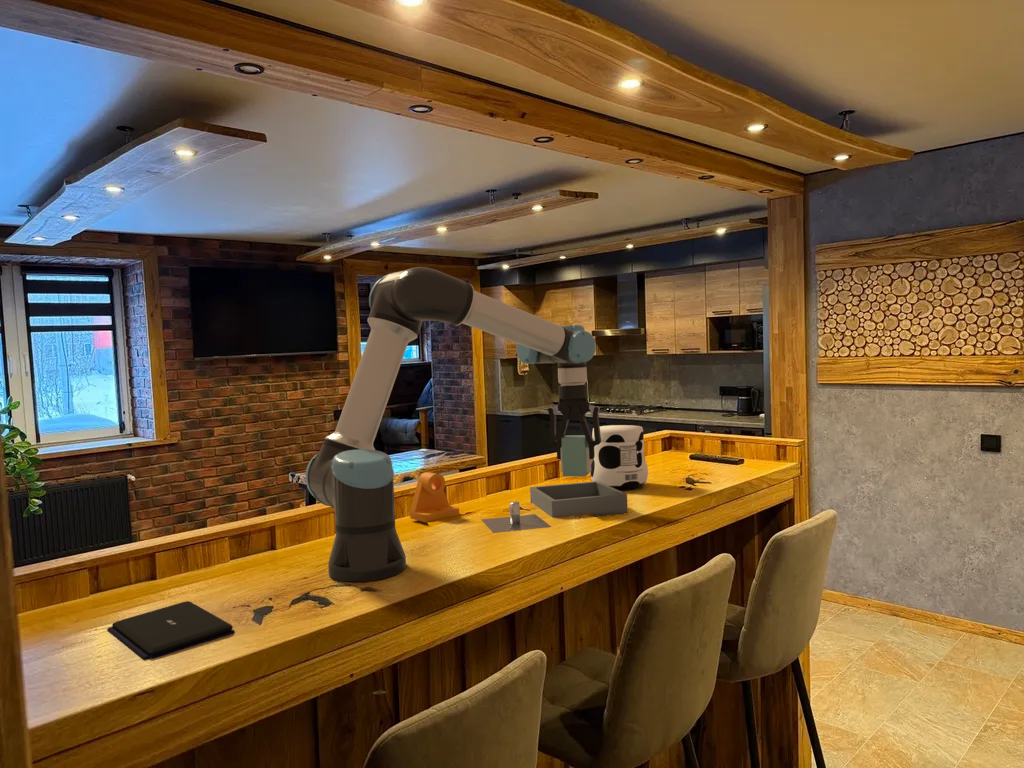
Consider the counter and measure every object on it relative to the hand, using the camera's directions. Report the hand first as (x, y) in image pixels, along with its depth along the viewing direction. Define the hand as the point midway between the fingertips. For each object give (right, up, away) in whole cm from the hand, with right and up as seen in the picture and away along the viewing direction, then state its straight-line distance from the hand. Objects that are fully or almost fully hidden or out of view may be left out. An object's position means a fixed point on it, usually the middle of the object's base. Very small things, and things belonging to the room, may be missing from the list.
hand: (576, 471), depth 188 cm
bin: (0, -10, 0) cm, 10 cm away
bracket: (-37, -12, -5) cm, 39 cm away
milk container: (+16, -8, +29) cm, 34 cm away
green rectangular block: (0, -1, 0) cm, 1 cm away
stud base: (-16, -12, -16) cm, 26 cm away
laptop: (-72, -17, -74) cm, 105 cm away
